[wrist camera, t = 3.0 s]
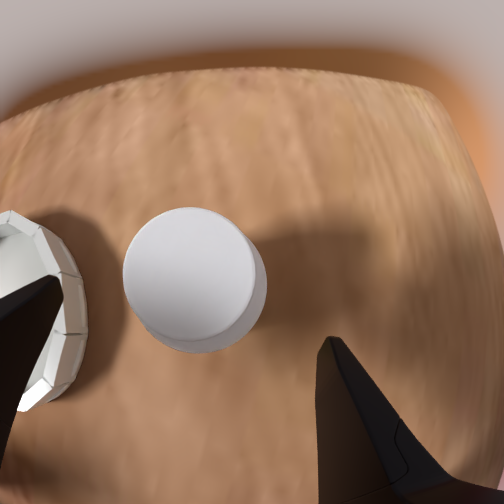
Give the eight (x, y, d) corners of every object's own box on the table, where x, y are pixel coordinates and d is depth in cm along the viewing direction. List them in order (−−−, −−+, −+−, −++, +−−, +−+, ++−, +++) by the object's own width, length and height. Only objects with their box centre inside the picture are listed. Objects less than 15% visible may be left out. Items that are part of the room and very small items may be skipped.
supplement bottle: (234, 353, 17) (245, 393, 7) (152, 321, 17) (77, 321, 7) (263, 272, 18) (304, 220, 9) (184, 242, 18) (146, 165, 9)
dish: (126, 341, 16) (108, 345, 13) (20, 428, 13) (-1, 437, 10) (42, 190, 18) (23, 173, 15) (-43, 289, 15) (-63, 284, 12)
